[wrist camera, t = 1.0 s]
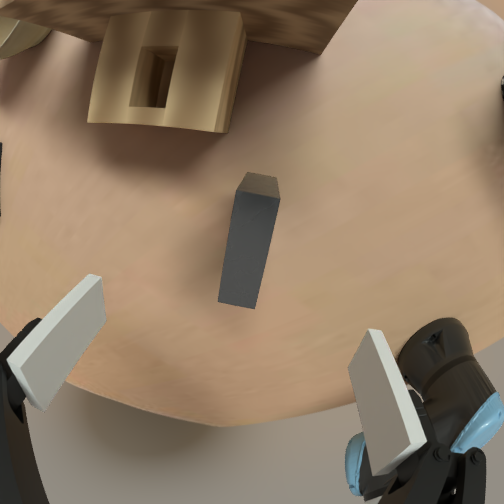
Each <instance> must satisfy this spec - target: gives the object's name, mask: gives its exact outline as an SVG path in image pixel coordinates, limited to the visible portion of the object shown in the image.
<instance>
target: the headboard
mask: <svg viewBox="0 0 504 504" xmlns="http://www.w3.org/2000/svg"><path fill="white" fill-rule="evenodd" d="M357 1H358V0H0V16H4V17H8V18H13V19H17V20H21V21H25V22H29V23H33V24H36V25H40V26H43V27H47V28H50V29H53V30H56V31H60V32H63V33H66V34H69V35H71V36H74V37H77V38H80V39H83V40H85V41H88V42H97V41H103V44H102V47H101V51H100V55H99V59H98V64H97V68H96V73H95V77H94V82H93V88H92V93H91V99H90V105H89V112H88V119H87V123H124V124H142V125H155V126H166V127H177V128H186V129H194V130H202V131H209V132H219V133H228V131H229V125H230V120H231V115H232V110H233V105H234V100H235V95H236V90H237V86H238V81H239V76H240V72H241V67H242V62H243V58H244V54H245V49H246V45H247V41H255V42H262V43H268V44H274V45H279V46H285V47H290V48H294V49H299V50H303V51H308V52H312V53H316V54H320V55H321V54H322V52H323V51H324V49H325V48H326V46H327V45H328V43H329V42H330V40H331V39H332V37H333V36H334V34H335V33H336V31H337V30H338V28H339V27H340V25H341V24H342V23H343V21H344V20H345V18H346V17H347V15H348V14H349V12H350V11H351V10H352V8H353V7H354V5H355V4H356V2H357Z"/></svg>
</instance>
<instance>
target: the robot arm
mask: <svg viewBox="0 0 504 504" xmlns="http://www.w3.org/2000/svg"><path fill="white" fill-rule="evenodd" d="M105 322H106V314H105V306H104V297H103V287H102V277H100V276H96V275H93V274H88V275H87V276H86V277H85V278H84V279H83V280H82V281H81V282H80V283H79V284H78V285H77V286H75V287H74V288H73V289H72V290H71V291H70V292H69V293H68V294H67V295H66V296H65V297H64V298H63V299H62V300H61V301H60V302H59V303H58V304H57V305H56V306H55V307H54V308H53V309H52V310H51V311H50V312H49V313H48V314H47V315H46V316H45V317H44V318H43V319H40V318H36V319H34V320H33V321H31V322H29V323H28V324H27V325H26V326H25V327H24V328H23V329H22V331H20V332H19V333H18V334H17V337H15V338H14V339H13V340H12V341H11V342H10V343H9V344H8V345H7V346H6V348H5V349H4V350H3V351H2V352H1V353H0V504H49V501H48V499H47V496H46V493H45V490H44V487H43V484H42V481H41V478H40V474H39V471H38V467H37V464H36V460H35V456H34V452H33V448H32V444H31V439H30V434H29V428H28V423H27V417H26V410H25V405H24V403H23V400H24V399H25V397H27V399H28V401H29V402H30V404H31V405H32V406H34V407H35V408H37V409H39V410H41V411H42V412H45V411H46V409H47V407H48V406H49V404H50V403H51V401H52V399H53V398H54V396H55V395H56V393H57V392H58V390H59V388H60V387H61V385H62V384H63V382H64V381H65V379H66V378H67V376H68V375H69V373H70V372H71V370H72V369H73V367H74V366H75V364H76V363H77V361H78V360H79V359H80V357H81V356H82V354H83V353H84V351H85V350H86V349H87V347H88V346H89V344H90V343H91V342H92V340H93V339H94V337H95V336H96V335H97V333H98V332H99V331H100V329H101V328H102V326H103V325H104V324H105ZM398 366H399V368H398ZM398 366H397V364H396V362H395V359H394V357H393V355H392V353H391V350H390V348H389V346H388V344H387V342H386V340H385V337H384V335H383V333H382V331H381V330H375V329H368V330H367V332H366V334H365V336H364V338H363V340H362V342H361V344H360V346H359V348H358V350H357V352H356V353H355V355H354V357H353V359H352V361H351V363H350V364H349V366H348V371H349V375H350V379H351V383H352V386H353V390H354V394H355V398H356V402H357V406H358V411H359V415H360V419H361V424H362V428H363V432H361V433H359V434H356V435H355V436H353V437H352V438H351V440H350V441H349V443H348V446H347V449H346V454H345V472H346V478H347V483H348V484H349V489H350V490H351V492H352V494H354V495H356V496H364V501H365V504H484V503H485V488H486V457H485V454H484V452H483V451H482V450H481V449H480V448H482V447H483V446H484V445H485V444H486V443H487V442H488V441H489V440H490V439H491V438H492V437H493V436H494V435H495V434H496V432H497V431H498V430H499V428H500V427H501V425H502V424H503V422H504V405H503V403H502V401H501V399H500V397H499V396H500V395H499V393H498V392H497V391H496V390H495V388H494V387H493V385H492V383H491V382H490V380H489V379H488V377H487V375H486V374H485V372H484V371H483V369H482V368H481V366H480V365H479V363H478V362H477V361H476V359H475V357H474V355H473V351H472V347H471V344H470V340H469V336H468V332H467V330H466V329H465V327H464V326H463V325H462V323H461V322H460V321H459V320H457V319H455V318H442V319H439V320H436V321H434V322H431V323H430V324H428V325H426V326H425V327H423V328H422V329H420V330H419V331H418V332H417V333H416V334H415V335H413V336H412V338H411V339H410V340H409V341H408V342H407V343H406V345H405V346H404V348H403V350H402V352H401V354H400V356H399V361H398ZM399 369H400V371H399ZM400 372H401V373H400ZM401 374H402V375H401ZM402 376H403V378H404V379H405V381H407V382H408V383H409V384H410V385H411V386H412V387H413V388H414V389H415V390H416V391H417V392H418V393H419V394H421V396H422V399H423V400H424V402H423V403H422V401H421V398H420V397H419V396H418V395H417V393H416V392H415V391H414V390H407V387H406V385H405V382H404V380H403V378H402ZM455 488H456V494H454V489H455Z"/></svg>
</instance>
